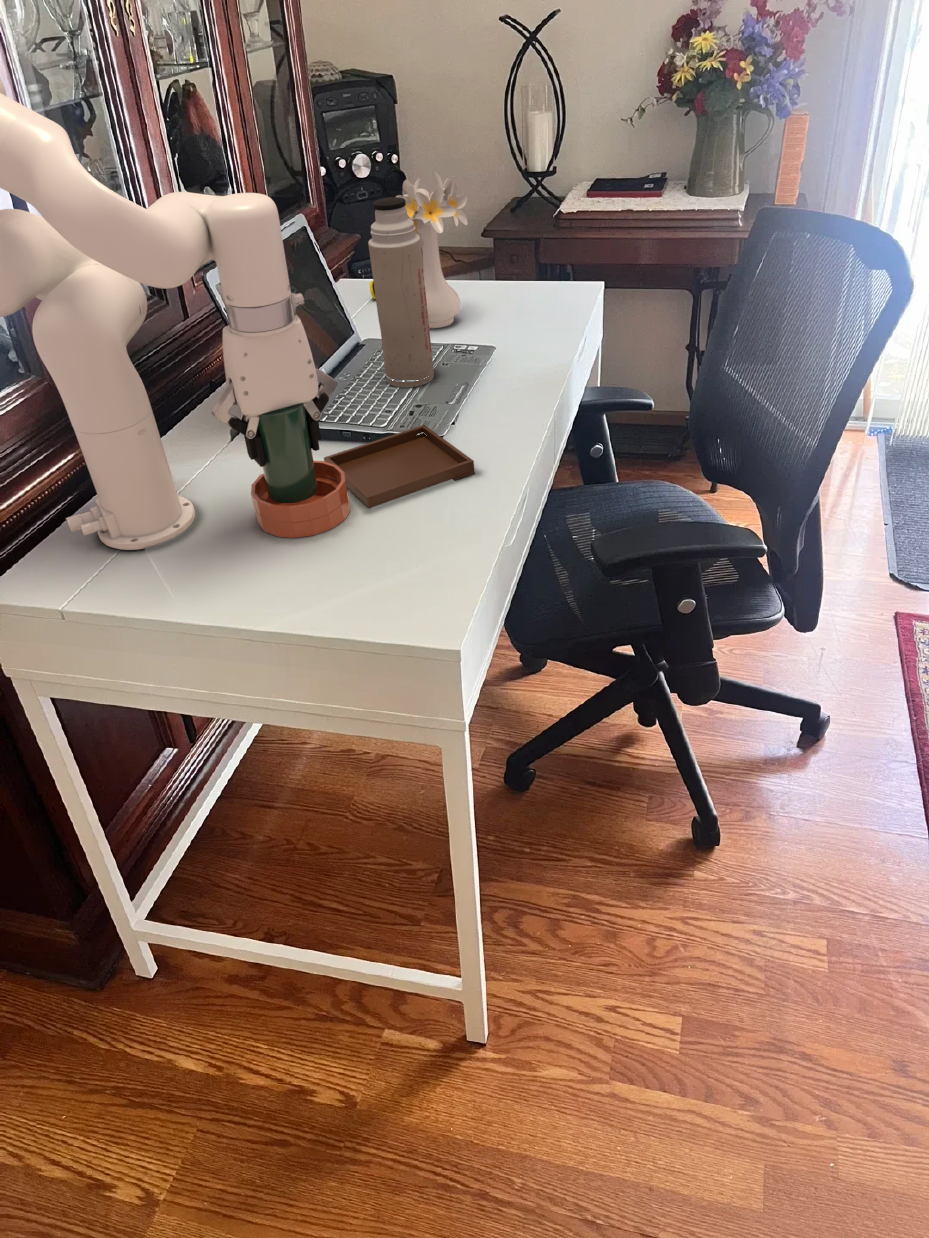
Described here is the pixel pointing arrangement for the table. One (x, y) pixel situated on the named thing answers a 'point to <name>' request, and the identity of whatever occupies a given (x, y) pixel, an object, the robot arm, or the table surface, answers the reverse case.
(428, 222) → the flower vase
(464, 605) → the table surface
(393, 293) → the thermos bottle
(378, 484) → the tray
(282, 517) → the bowl
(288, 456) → the bottle
